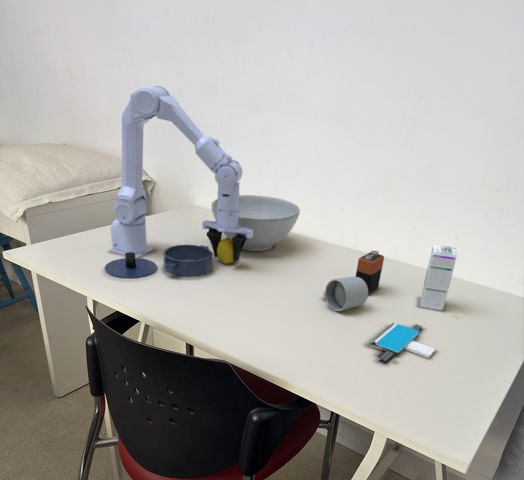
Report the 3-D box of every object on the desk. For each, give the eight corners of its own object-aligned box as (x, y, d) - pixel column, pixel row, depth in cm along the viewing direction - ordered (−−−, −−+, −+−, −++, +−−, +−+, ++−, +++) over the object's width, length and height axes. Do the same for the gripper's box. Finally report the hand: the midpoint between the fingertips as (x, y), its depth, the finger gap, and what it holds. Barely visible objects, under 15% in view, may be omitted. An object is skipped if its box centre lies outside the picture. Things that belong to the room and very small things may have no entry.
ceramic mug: (368, 309, 121) (373, 279, 117) (343, 316, 117) (348, 286, 113) (338, 293, 128) (342, 265, 125) (314, 300, 124) (317, 270, 120)
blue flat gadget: (413, 374, 97) (415, 367, 96) (358, 353, 103) (360, 346, 102) (447, 337, 111) (449, 331, 110) (397, 320, 117) (398, 314, 116)
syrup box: (443, 311, 123) (458, 255, 116) (418, 306, 124) (432, 251, 117) (442, 302, 128) (457, 247, 120) (419, 298, 129) (432, 244, 122)
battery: (378, 288, 133) (385, 252, 128) (367, 295, 128) (374, 258, 123) (364, 283, 135) (370, 248, 130) (352, 290, 130) (358, 254, 125)
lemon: (237, 262, 143) (238, 235, 139) (234, 269, 138) (235, 241, 134) (218, 260, 143) (219, 233, 139) (215, 267, 138) (215, 239, 134)
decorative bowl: (245, 226, 173) (247, 190, 166) (311, 245, 160) (316, 207, 154) (192, 244, 153) (192, 204, 147) (263, 267, 141) (266, 224, 134)
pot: (148, 275, 130) (147, 257, 128) (185, 255, 145) (185, 239, 142) (190, 286, 126) (190, 268, 124) (224, 264, 141) (225, 247, 138)
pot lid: (94, 273, 129) (92, 256, 127) (126, 258, 140) (125, 242, 137) (136, 284, 125) (135, 267, 122) (166, 268, 135) (166, 251, 133)
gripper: (196, 208, 132) (196, 256, 139) (245, 217, 127) (243, 267, 134) (209, 202, 137) (209, 249, 144) (257, 211, 132) (254, 260, 139)
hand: (226, 258), depth 139 cm, fingers closed on lemon, 5 cm apart
